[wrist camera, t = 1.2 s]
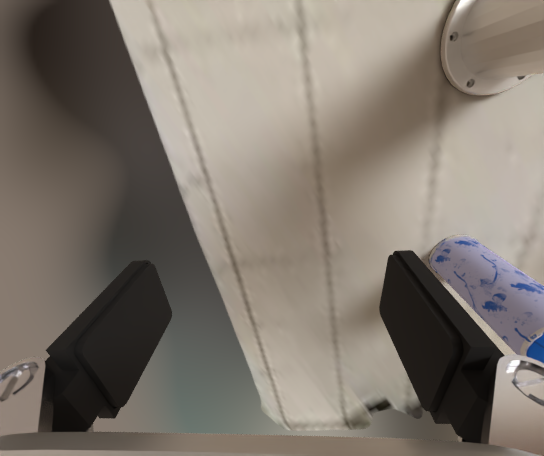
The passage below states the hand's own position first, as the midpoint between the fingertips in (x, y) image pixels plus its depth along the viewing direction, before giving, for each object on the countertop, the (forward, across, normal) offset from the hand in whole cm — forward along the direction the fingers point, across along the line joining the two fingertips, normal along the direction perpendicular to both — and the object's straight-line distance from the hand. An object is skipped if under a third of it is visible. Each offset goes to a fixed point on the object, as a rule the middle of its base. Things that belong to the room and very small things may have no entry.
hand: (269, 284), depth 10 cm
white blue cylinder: (+27, -28, +18) cm, 43 cm away
